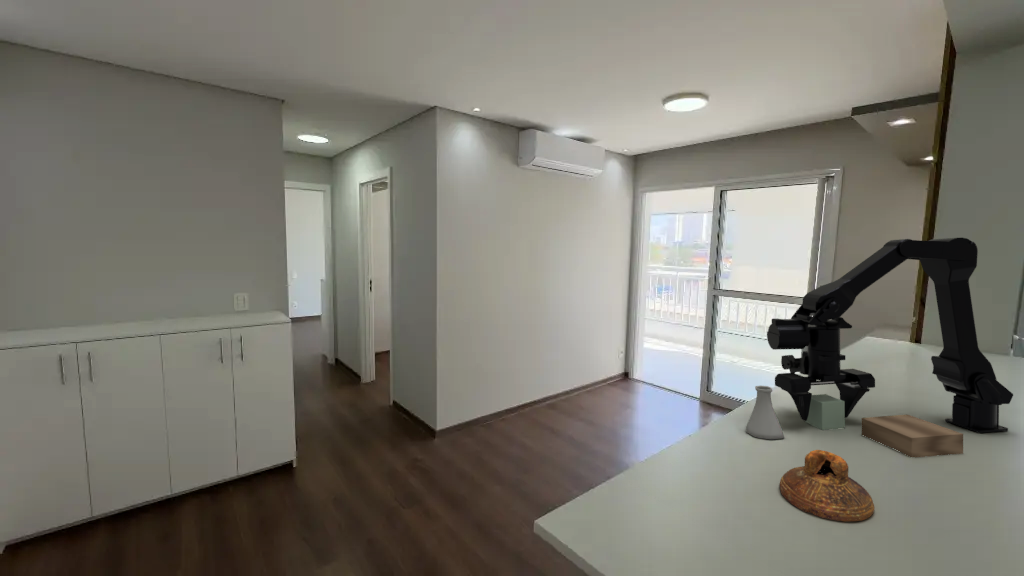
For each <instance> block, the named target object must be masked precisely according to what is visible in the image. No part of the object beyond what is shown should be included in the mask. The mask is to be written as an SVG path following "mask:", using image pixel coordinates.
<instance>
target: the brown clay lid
mask: <svg viewBox="0 0 1024 576" xmlns="http://www.w3.org/2000/svg"><path fill="white" fill-rule="evenodd" d="M778 484H779V485H778V486H779V489H780V493H781V495H782V496H783V497H784V498H785V500H786V501H787V502H788V503H790V504H791V505H792V506H795V507H796V508H797V509H799V510H801V511H803V512H805V513H810V514H812V515H815V516H816V517H819V518H822V519H826V520H831V521H838V522H842V523H846V522H860V521H861V522H862V521H864V520H867V519H869V518H870V517H871V516H872V515H873V514H874V512H875V504H874V501H873V498H872V496H871V495H870V493H869V492H868V491H867V490H866V489H865V488H864V486H863V485H861V484H860V483H858V482H857V481H856V480H854V479H853V478H851V477H850V476H849V464H848V463H847V460H845V459H844V458H843V457H841V456H839V455H837V454H835V453H834V452H830V451H826V450H822V449H815V450H812V451H809V452H808V453H807V454H806V455H805V457H804V466H797V467H794V468H793V467H792V468H791V469H789V470H788V471H785V473H784V474H783V475H782V476H781V478H780V480H779V483H778Z"/></svg>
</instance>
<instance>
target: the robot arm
mask: <svg viewBox="0 0 1024 576" xmlns="http://www.w3.org/2000/svg"><path fill="white" fill-rule="evenodd" d="M978 251H979V250H978V246H977V244H976V242H974V241H972V240H970V239H968V238H966V237H952V238H951V237H949V238H948V237H945V238H934V239H933V238H932V239H930V240H919V239H917V240H916V239H911V238H905V239H904V238H902V239H901V238H900V239H891V240H889V241H887V242H885V244H884V245H883V246H882V247H880V249H878V250H877V251H876V252H874V253H873V254H871V255H870V256H868V257H867V258H865V259H864V260H863V261H861V262H860V263H859V264H857V265H856V266H855V267H853V268H852V269H850V271H848V272H847V273H845V274H844V275H843V276H841V277H840V278H837V280H834V281H832V282H830V283H829V282H828V283H826V284H823V285H821V286H819V287H817V288H815V289H813V290H811V291H809V292H807V293H806V294H805V295H804V296H803V297H802V304H801V305H800V306H799V307H798V308H797V309H796V311H795V312H794V314H793V315H792V316H791V318H772V319H771V324H770V325H769V326H768V329H767V331H766V338H767V342H768V345H769V347H770V348H771V349H772V350H776V351H777V350H803V349H805V348H806V347H807V348H806V349H807V350H803V351H802V352H801V357H795V356H794V355H793V354H788V355H787V354H785V355H781V361H780V363H781V367H782V369H783V370H789V372H785V373H784V372H783V373H782V372H781V373H777V374H776V376H775V377H774V386H775V387H778V388H780V389H781V390H782V391H785V392H787V393H788V394H789V395H790V396H791V399H792V401H793V403H794V405H795V407H796V409H797V412H798V414H799V416H800V419H801V420H802V421H804V422H805V421H807V418H808V415H809V409H810V403H811V397H812V395H813V393H811V392H809V391H810V390H811V389H812V386H823V385H836V388H837V389H838V391H839V399H840V400H842V401H845V419H847V418H848V417H849V416H850V414H851V413H852V411H853V410H854V408H855V407H856V405H857V404H858V403H859V401H860V400H861V399H862V398H863V396H865V394H866V393H868V392H870V391H871V389H870V388H872V389H873V388H876V378H875V377H874V375H873V374H872V373H869V372H866V371H863V370H860V369H859V370H858V369H855V368H845V369H844V368H843V369H842V368H841V361H846V355H845V354H841V329H843V330H844V329H845V330H846V329H847V330H849V329H852V328H853V325H852V324H851V323H849V322H847V321H846V320H845V319H844V317H842V316H843V315H844V314H845V313H846V312H847V311H848V310H849V309H850V308H851V307H852V306H853V304H854V302H855V301H856V298H857V297H858V296H859V295H860V293H862V292H863V291H865V290H866V289H868V288H869V287H870V286H872V285H873V284H875V283H877V281H879V280H880V279H881V278H883V277H885V276H886V275H887V274H889V273H890V272H892V271H893V270H894V269H896V268H897V267H898V266H900V265H901V264H902V263H904V262H905V261H907V260H913V261H914V260H915V261H919V262H920V265H921V268H922V270H923V272H924V273H925V274H927V276H928V277H929V278H930V279H931V280H932V282H933V285H934V292H935V298H936V304H937V311H938V318H939V325H940V331H941V338H942V344H943V349H942V350H941V351H940V353H939V355H932V356H931V357H930V360H931V363H932V369H933V370H932V372H931V373H932V374H933V375H935V376H936V378H937V380H938V381H939V382H940V383H942V385H943V388H944V390H945V391H946V392H949V393H952V394H954V395H953V401H952V402H953V403H952V405H951V408H952V410H951V412H952V413H951V416H952V417H951V418H945V419H944V421H945V422H947V423H949V424H953V425H955V426H958V427H961V428H965V429H967V430H970V431H972V432H976V433H980V434H983V433H997V432H1006V431H1009V427H1005V426H1003V425H1000V406H1002V405H1010V403H1011V401H1012V398H1013V397H1014V393H1012V392H1011V391H1010V390H1009V389H1008V388H1006V387H1005V386H1004V385H1003V384H1002V383H1000V382H999V381H998V380H997V376H996V373H995V370H994V367H993V365H992V363H991V362H990V360H989V359H988V358H987V357H986V356H985V355H984V354H983V352H982V351H981V350H980V348H979V343H978V342H979V341H978V336H977V329H976V323H975V315H974V310H973V302H972V296H971V289H970V278H971V277H972V275H973V273H974V271H975V270H976V268H977V267H978V257H979V255H978V254H979V252H978ZM797 373H800V374H801V375H800V374H797ZM803 375H806V376H803Z"/></svg>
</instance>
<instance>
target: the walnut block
mask: <svg viewBox="0 0 1024 576" xmlns="http://www.w3.org/2000/svg"><path fill="white" fill-rule="evenodd" d="M862 435H864V436H863V437H865V436H866V437H865V438H867V437H868V438H867V439H869V438H871V439H873V440H875V441H874V442H876V441H877V442H876V443H878V442H880V443H882V444H884V445H883V446H885V445H886V446H885V447H887V446H889V447H891V448H894V449H896V450H898V451H900V452H902V453H904V454H906V455H905V456H907V455H908V456H907V457H909V456H910V457H909V458H911V457H915V458H925V456H927V457H936V456H937V455H939V456H950V454H952V455H962V454H964V433H961V432H958V431H956V430H953V429H950V428H947V427H944V426H941V425H939V424H935V423H934V422H930V421H928V420H924V419H921V418H920V417H919V418H918V417H916V416H913V415H910V414H898V415H883V416H882V415H881V416H871V417H870V416H869V417H861V436H862ZM871 439H870V440H871ZM873 440H872V441H873ZM880 443H879V444H880ZM882 444H881V445H882ZM889 447H888V448H889ZM891 448H890V449H891ZM896 450H895V451H896ZM898 451H897V452H898ZM900 452H899V453H900ZM902 453H901V454H902ZM904 454H903V455H904ZM948 454H949V455H948Z"/></svg>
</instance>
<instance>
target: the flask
mask: <svg viewBox="0 0 1024 576" xmlns="http://www.w3.org/2000/svg"><path fill="white" fill-rule="evenodd" d="M754 387H755V391H756V399H755V403H754V405H753V408H752V411H751V414H750V416H749V419H748V421H747V423H746V425H745V433H747V434H749V435H750V436H752V437H754V438H759V439H767V440H778V439H779V440H780V439H785V435H784V432H783V429H782V427H781V423H780V421H779V418H778V417H777V414H776V412H775V409H774V406H773V402H772V392H773V387H771V386H768V385H755V386H754Z"/></svg>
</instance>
